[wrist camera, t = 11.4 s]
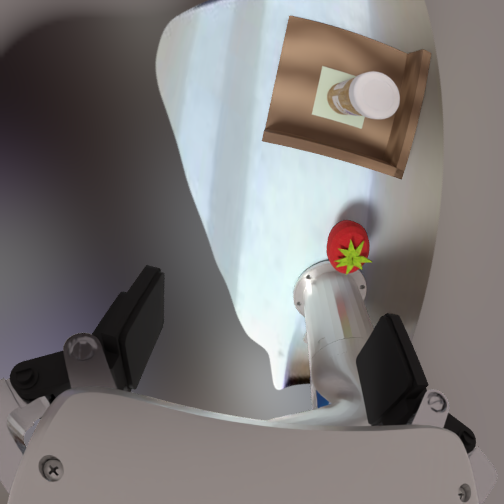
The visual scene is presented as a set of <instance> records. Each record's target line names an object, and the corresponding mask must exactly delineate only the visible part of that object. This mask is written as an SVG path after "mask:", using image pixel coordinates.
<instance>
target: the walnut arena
mask: <svg viewBox="0 0 504 504" xmlns="http://www.w3.org/2000/svg"><path fill="white" fill-rule="evenodd" d="M430 58H431V53H430V52H428V51H426V50H424V49H422V50H419V51H416V52H412V53H409V54H406V53H404V52H402V51H399V50H397V49H395V48H393V47H390V46H388V45H385V44H383V43H380V42H378V41H375V40H373V39H370V38H367V37H365V36H362V35H359V34H356V33H353V32H350V31H347V30H344V29H341V28H337V27H334V26H330V25H327V24H323V23H319V22H315V21H311V20H307V19H303V18H298V17H294V16H289V20H288V24H287V29H286V33H285V38H284V43H283V47H282V52H281V56H280V61H279V66H278V70H277V75H276V80H275V84H274V89H273V94H272V99H271V103H270V108H269V113H268V118H267V122H266V127H265V130H264V134H263V139H262V141H264V142H268V143H273V144H278V145H283V146H287V147H292V148H296V149H300V150H304V151H308V152H312V153H316V154H320V155H324V156H328V157H331V158H335V159H339V160H342V161H346V162H349V163H353V164H356V165H359V166H362V167H366V168H369V169H372V170H375V171H378V172H381V173H384V174H387V175H390V176H393V177H396V178H399V179H402V177H403V173H404V170H405V167H406V164H407V160H408V157H409V153H410V150H411V146H412V142H413V139H414V135H415V131H416V127H417V123H418V119H419V115H420V110H421V106H422V101H423V97H424V92H425V87H426V82H427V76H428V70H429V64H430ZM322 66H324V67H327V68H331V69H334V70H338V71H341V72H344V73H347V74H351V75H354V76H358V75H360V74H362V73H366V72H371V71H375V72H380V73H383V74H385V75H387V76H388V77H389V78H391V79H392V80H393V82H394V83H395V84H396V86H397V88H398V91H399V95H400V103H399V106H398V109H397V110H396V112H395V113H394V114H393V115H392V116H390V117H389V118H386V119H371V118H367V117H365V118H364V122H363V126H362V129H360V128H357V127H354V126H351V125H348V124H344V123H341V122H338V121H334V120H331V119H327V118H324V117H320V116H316V115H312V111H313V106H314V102H315V97H316V93H317V88H318V84H319V79H320V75H321V70H322Z"/></svg>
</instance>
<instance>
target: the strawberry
mask: <svg viewBox="0 0 504 504" xmlns="http://www.w3.org/2000/svg"><path fill="white" fill-rule="evenodd" d="M368 254H369V240H368V236H367V233H366V231H365V229H364V228H363V227H362V226H361V225H360V224H358V223H356V222H353V221H351V220H344V221H341V222H339V223H337V224H336V225H335V226H334V227H333V228H332V230H331V232H330V234H329V237H328V242H327V256H328V259H329V262H330V263H331V265H332V266H333V267H334V268H335V269H336V270H337V271H338V272H340V273H343V274H346V275H347V274H349V273H353V272H355V271H357V270H358V269H361V270H363V269H362V266H363V264H364V263H367V262H372V261H371V260H369V259H367V257H368Z"/></svg>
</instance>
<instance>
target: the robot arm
mask: <svg viewBox="0 0 504 504" xmlns="http://www.w3.org/2000/svg"><path fill="white" fill-rule="evenodd" d="M366 292H367V285H366V281H365V278H364V276H363V274H362V273H361V272H360V270H359V269H358V270H357V271H355V272H353V273H349V274H347V275H346V274H343V273H340V272H338V271H337V270H336V269H335V268H334V267H333V266H332V265H331V263H330V262H329V261H324V262H320V263H318V264H315V265H313V266H311V267H310V268H308V269H307V270H306V271H305V272H304V273H303V274H301V276H300V277H299V278H298V280H297V282H296V284H295V286H294V291H293V298H294V304H295V306H296V309H297V310H298V311H299V313H300V314H301V315H302V316H304V317H305V323H306V333H305V335H304V338H303V340H304V342H305V343H307V344H308V353H309V364H310V375H311V380H312V383H313V385H314V387H315V388H316V390H317V391H318V392H319V393H320V395H321V396H323V397H324V398H325V399H326V400H327V401H329V402H330V403H332V404H330V405H327V406H323V407H320V408H318V409H313V410H309V411H305V412H301V413H296V414H291V415H287V416H283V417H278V418H274V419H270V420H267V421H265V420H257V419H250V418H244V417H236V416H231V415H225V414H220V413H215V412H210V411H205V410H201V409H196V408H192V407H187V406H183V405H179V404H175V403H171V402H167V401H163V400H159V399H155V398H152V397H148V396H144V395H140V394H136V393H132V392H131V389H136V388H137V385H138V383H139V381H140V379H141V376H142V374H143V371H144V369H145V367H146V364H147V362H148V359H149V357H150V355H151V353H152V350H153V348H154V346H155V344H156V341H157V339H158V337H159V335H160V332H161V330H162V328H163V323H164V273H162V272H161V270H160V268H157V267H152V266H148V265H146V267H145V268H144V269H143V271H142V272H141V273H140V275H139V276H138V278H137V279H136V281H135V282H134V283H133V285H132V286H131V288H130V289H129V290H128V292H121V293H120V294H119V295H118V297H117V298H116V300H115V301H114V302H113V304H112V305H111V307H110V308H109V310H108V311H107V313H106V314H105V315H104V317H103V318H102V320H101V321H100V323H99V324H98V326H97V327H96V329H95V331H94V332H93V333H92V334H89V333H78V334H75V335H73V336H71V337H69V338H68V339H67V340H66V342H65V344H64V346H63V351H60V352H57V353H53V354H49V355H46V356H42V357H39V358H35V359H31V360H27V361H23V362H21V363H18V364H17V365H16V366H15V367H14V368H13V369H12V371H11V374H10V378H9V379H7V380H5V379H4V378H3V379H1V380H0V481H1V482H2V484H3V486H4V487H5V489H6V490H7V492H8V493H9V495H10V496H9V499H8V503H7V504H482V503H483V502H484V500H485V499H486V497H487V496H488V494H489V493H490V491H491V490H492V488H493V487H494V485H495V483H496V481H497V471H496V469H495V468H494V466H493V465H492V464H491V463H490V461H489V460H488V458H487V457H486V456H485V455H484V453H483V452H482V451H481V450H480V448H479V447H476V448H475V444H476V438H475V436H474V434H473V432H472V431H471V430H470V429H469V428H468V427H466V426H465V425H464V424H463V423H461V422H460V421H458V420H457V419H456V418H455V417H453V416H452V415H451V414H449V413H448V412H449V401H448V399H447V398H446V396H445V395H444V394H443V393H442V392H440V391H438V390H436V389H430V390H428V391H427V390H426V387H427V386H428V382H427V380H426V377H425V375H424V372H423V370H422V367H421V365H420V362H419V360H418V357H417V355H416V352H415V350H414V348H413V345H412V343H411V341H410V338H409V336H408V334H407V332H406V329H405V327H404V325H403V323H402V321H401V319H400V317H399V315H395V314H389V313H387V314H385V315H384V316H382V317H381V318H380V320H379V321H378V323H377V325H376V326H375V328H374V329H373V326H372V323H371V320H370V318H369V315H368V312H367V309H366V307H365V304H364V299H365V297H366ZM38 419H41V420H40V421H39V423H38V425H37V427H36V429H35V431H34V433H33V435H32V437H31V439H30V441H29V443H28V445H27V448H26V445H25V444H24V434H25V432H26V431H27V430H28V429H29V428H30V427H32V426H33V425H34V423H33V422H35V421H36V420H38Z"/></svg>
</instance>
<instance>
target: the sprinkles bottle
mask: <svg viewBox="0 0 504 504" xmlns="http://www.w3.org/2000/svg"><path fill="white" fill-rule="evenodd" d="M327 101H328V104H329V106H330V107H331V108H332V110H334V111H335V112H336V113H338V114H341V115H355V116H364V117H367V118H371V119H386V118H389V117H390V116H392V115H393V114H394V113H395V112H396V110H397V109H398V106H399V103H400V95H399V91H398V88H397V86H396V84H395V83H394V82H393V80H392V79H391V78H389V77H388V76H387V75H385V74H383V73H380V72H375V71H371V72H366V73H362V74H360V75H358V76H356V77H355V78H351V79H349V80H346V81H343V82H341V83H337V84H335V85H333V86H332V87H331V88H330V89H329V91H328V93H327Z"/></svg>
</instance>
